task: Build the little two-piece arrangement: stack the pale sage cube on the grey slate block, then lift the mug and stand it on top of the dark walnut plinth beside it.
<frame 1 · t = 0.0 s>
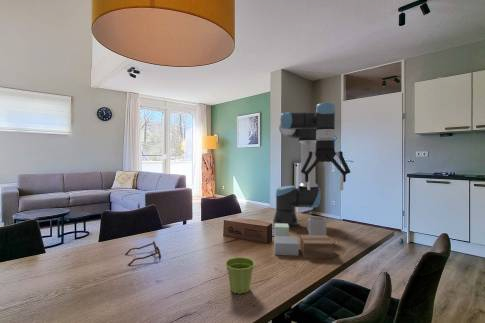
hand: (325, 189, 111), 28 cm above the table, tool pointing down, fingers open, 13 cm apart
walnut plinth: (315, 252, 115), on the table
glasses: (142, 258, 111), on the table
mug: (314, 239, 133), on the table
sage cube: (281, 238, 134), on the table
slate block: (285, 250, 117), on the table
plant pot: (240, 290, 84), on the table
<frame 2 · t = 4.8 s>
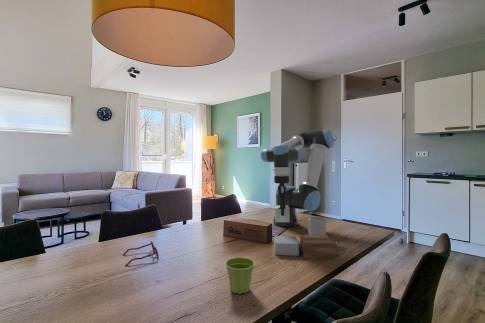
hand: (282, 219, 134), 10 cm above the table, tool pointing down, fingers closed on sage cube, 7 cm apart
sage cube: (282, 220, 134), point 9 cm above the table, touching gripper
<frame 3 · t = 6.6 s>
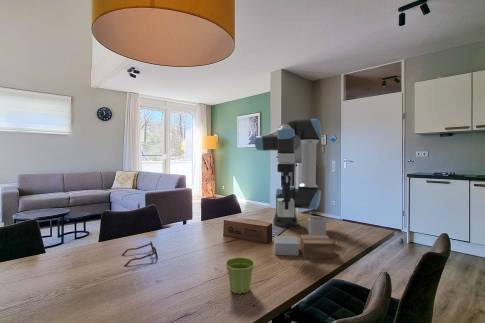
hand: (285, 214, 116), 16 cm above the table, tool pointing down, fingers closed on sage cube, 7 cm apart
sage cube: (285, 215, 116), point 16 cm above the table, touching gripper
when the fingers open (6 cm above the table, at t = 8.8 s): sage cube stays where it is, resting on slate block.
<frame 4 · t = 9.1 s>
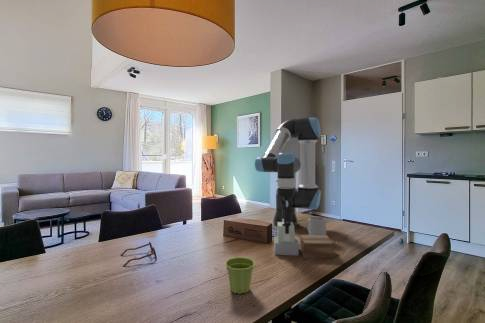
hand: (285, 236, 117), 6 cm above the table, tool pointing down, fingers open, 11 cm apart
sage cube: (285, 239, 117), point 5 cm above the table, touching slate block
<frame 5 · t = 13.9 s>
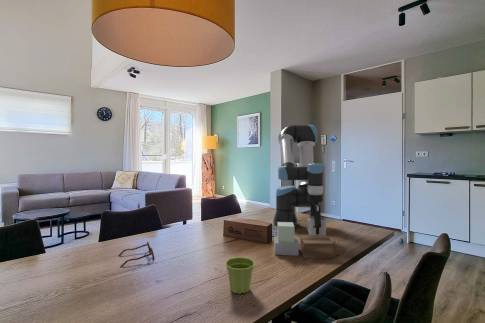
hand: (315, 237, 133), 1 cm above the table, tool pointing down, fingers closed on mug, 10 cm apart
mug: (314, 239, 134), on the table, touching gripper
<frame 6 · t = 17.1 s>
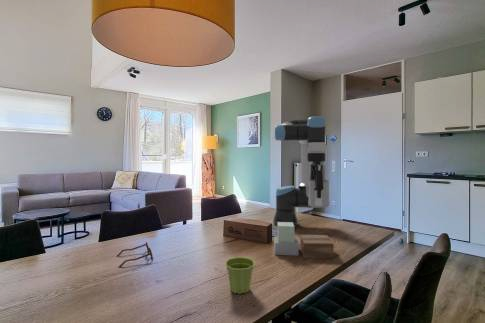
hand: (316, 203, 114), 22 cm above the table, tool pointing down, fingers closed on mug, 10 cm apart
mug: (315, 205, 115), point 21 cm above the table, touching gripper
when the fingers open (8 cm above the table, at t = 20.1 s): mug drops 1 cm, resting on walnut plinth.
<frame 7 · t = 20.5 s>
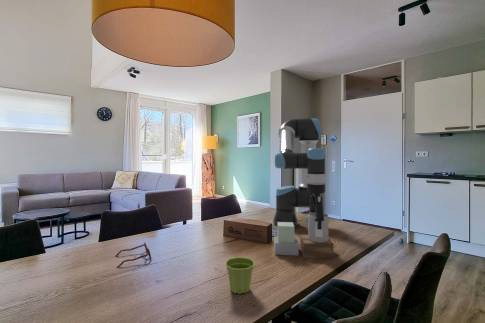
hand: (315, 231, 114), 9 cm above the table, tool pointing down, fingers open, 13 cm apart
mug: (315, 238, 115), point 6 cm above the table, touching walnut plinth
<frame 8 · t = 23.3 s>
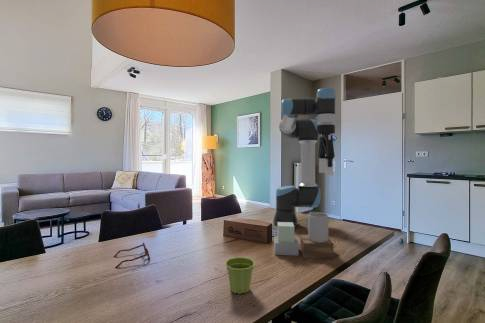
hand: (325, 173, 113), 35 cm above the table, tool pointing down, fingers open, 13 cm apart
at the end: sage cube inside the target area on the slate block (0.1 cm from its centre), point 5.0 cm above the slate block's base; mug inside the target area on the walnut plinth (0.7 cm from its centre), point 5.8 cm above the walnut plinth's base; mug tilted 0° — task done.
